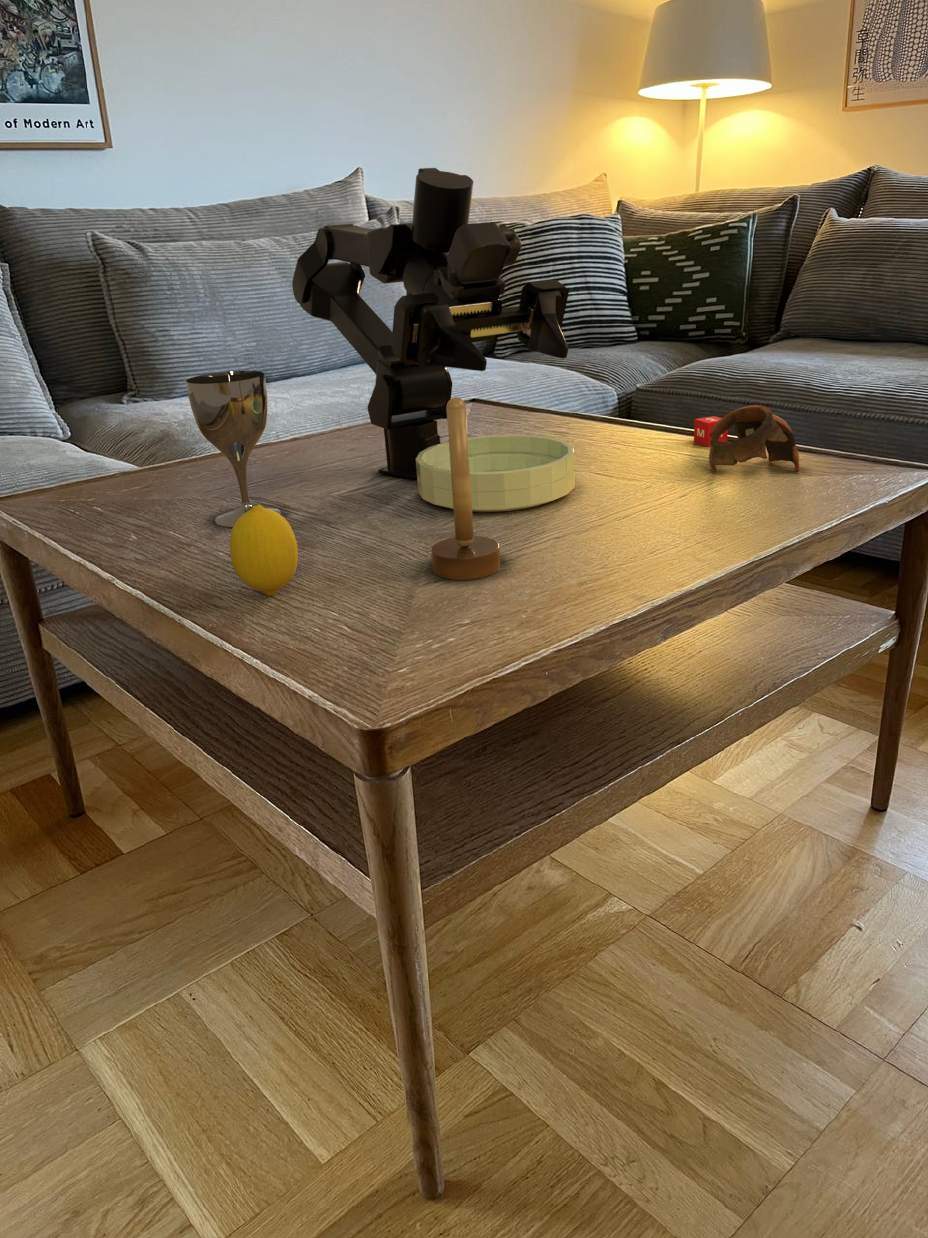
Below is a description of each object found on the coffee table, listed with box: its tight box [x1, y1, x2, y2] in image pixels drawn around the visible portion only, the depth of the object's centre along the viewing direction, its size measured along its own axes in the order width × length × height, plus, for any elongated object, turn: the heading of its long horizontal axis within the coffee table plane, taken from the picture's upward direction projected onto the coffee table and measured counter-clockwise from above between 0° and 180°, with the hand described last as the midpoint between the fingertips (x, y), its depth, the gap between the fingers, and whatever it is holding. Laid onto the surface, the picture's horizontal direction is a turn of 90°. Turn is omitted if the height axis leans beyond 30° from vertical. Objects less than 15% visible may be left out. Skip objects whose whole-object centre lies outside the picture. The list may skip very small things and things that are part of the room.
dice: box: [693, 415, 729, 447], centre depth 117 cm, size 3×3×3 cm
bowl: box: [416, 434, 576, 513], centre depth 102 cm, size 17×17×4 cm
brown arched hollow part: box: [708, 404, 801, 473], centre depth 104 cm, size 12×10×8 cm
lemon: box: [229, 504, 299, 597], centre depth 76 cm, size 6×6×8 cm
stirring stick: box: [430, 397, 501, 581], centre depth 78 cm, size 6×6×15 cm
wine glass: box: [185, 370, 282, 528], centre depth 97 cm, size 8×8×15 cm
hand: (526, 359), depth 86 cm, fingers open, 9 cm apart
